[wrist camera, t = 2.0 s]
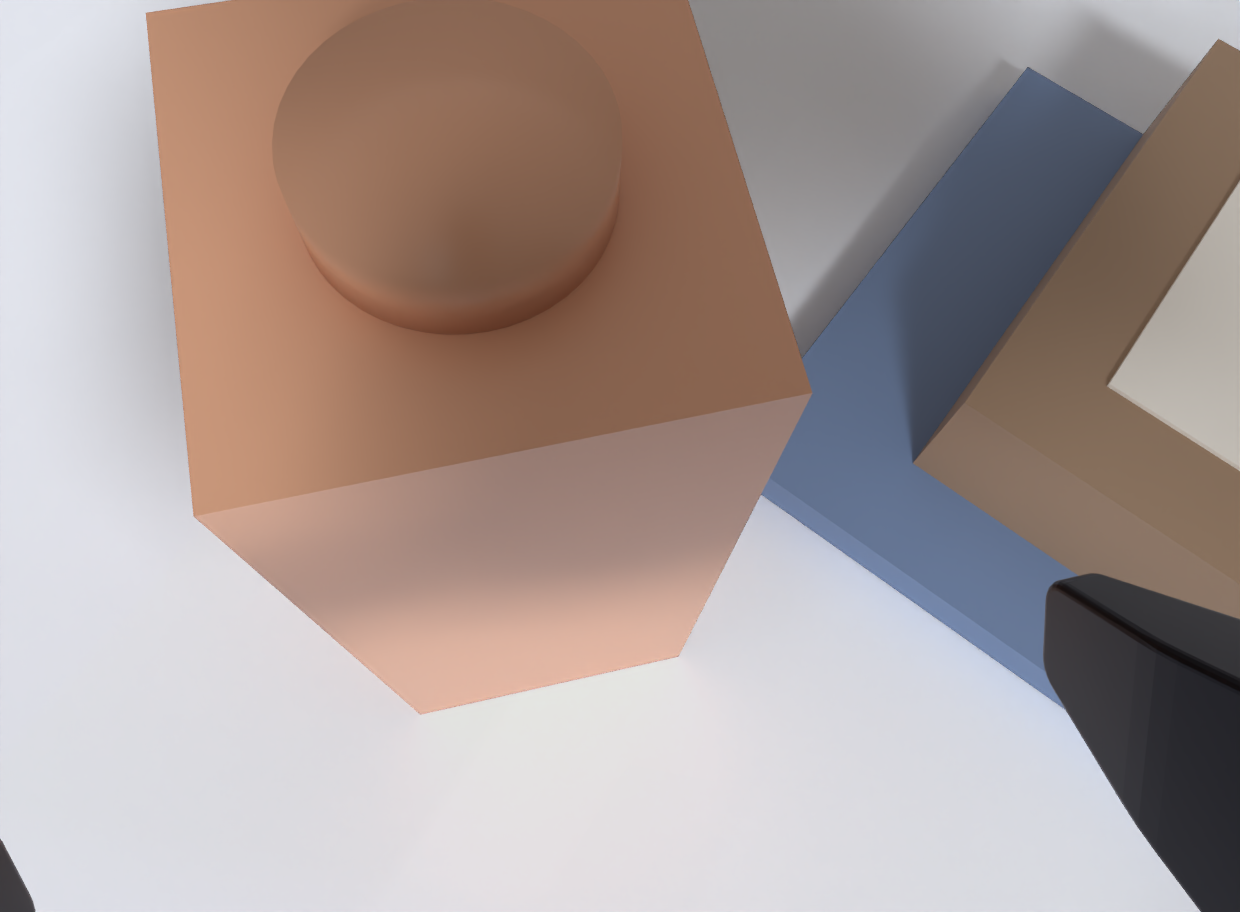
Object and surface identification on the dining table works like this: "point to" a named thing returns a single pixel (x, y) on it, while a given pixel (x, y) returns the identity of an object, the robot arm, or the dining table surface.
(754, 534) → the dining table surface
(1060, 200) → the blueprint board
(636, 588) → the column
